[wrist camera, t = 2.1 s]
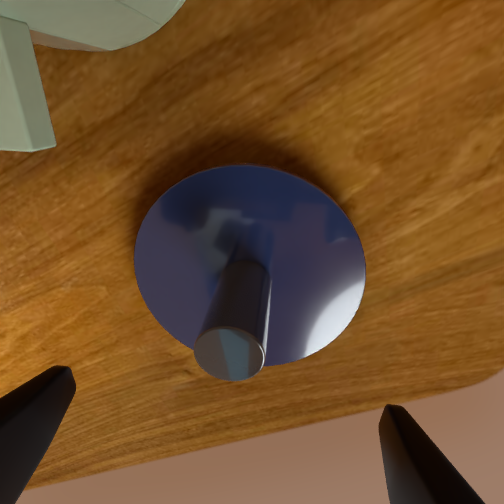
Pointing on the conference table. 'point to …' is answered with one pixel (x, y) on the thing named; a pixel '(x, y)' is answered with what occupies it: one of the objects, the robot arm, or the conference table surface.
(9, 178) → the conference table surface
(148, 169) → the conference table surface
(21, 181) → the conference table surface
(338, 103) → the conference table surface
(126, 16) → the pot
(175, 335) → the lid
